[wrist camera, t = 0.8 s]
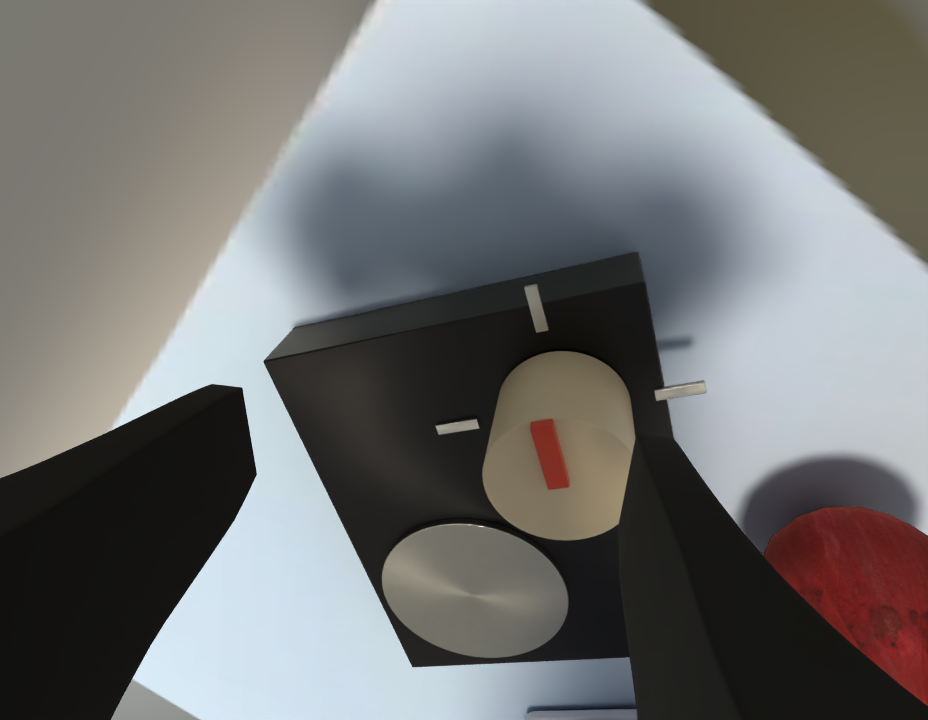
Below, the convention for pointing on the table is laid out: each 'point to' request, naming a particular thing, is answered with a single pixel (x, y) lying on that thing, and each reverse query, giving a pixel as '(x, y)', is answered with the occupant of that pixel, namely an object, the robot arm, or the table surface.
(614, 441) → the knob
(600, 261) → the hob
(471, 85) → the table surface
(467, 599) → the burner
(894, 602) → the onion
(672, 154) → the table surface
